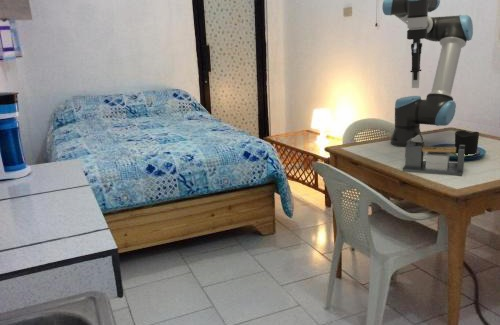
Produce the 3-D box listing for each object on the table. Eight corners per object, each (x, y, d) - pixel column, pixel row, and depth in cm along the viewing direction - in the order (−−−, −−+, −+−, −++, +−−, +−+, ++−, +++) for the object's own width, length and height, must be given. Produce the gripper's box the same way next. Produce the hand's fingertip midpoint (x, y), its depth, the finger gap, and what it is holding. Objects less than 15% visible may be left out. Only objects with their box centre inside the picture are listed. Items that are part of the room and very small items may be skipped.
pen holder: (461, 158, 189) (462, 136, 186) (449, 152, 198) (450, 131, 195) (481, 156, 190) (483, 134, 187) (469, 150, 199) (471, 129, 196)
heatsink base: (402, 171, 179) (403, 148, 176) (407, 162, 190) (408, 139, 187) (462, 175, 169) (463, 151, 166) (463, 165, 180) (465, 142, 177)
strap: (414, 151, 179) (414, 148, 179) (416, 149, 183) (416, 146, 182) (455, 152, 172) (455, 149, 172) (456, 150, 176) (456, 146, 175)
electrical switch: (418, 159, 192) (417, 139, 190) (406, 159, 196) (405, 139, 194) (425, 154, 199) (424, 134, 197) (413, 154, 203) (412, 134, 200)
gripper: (409, 28, 182) (407, 85, 189) (405, 30, 171) (403, 90, 178) (428, 27, 179) (426, 85, 186) (425, 28, 168) (423, 90, 175)
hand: (415, 87), depth 182 cm, fingers closed
